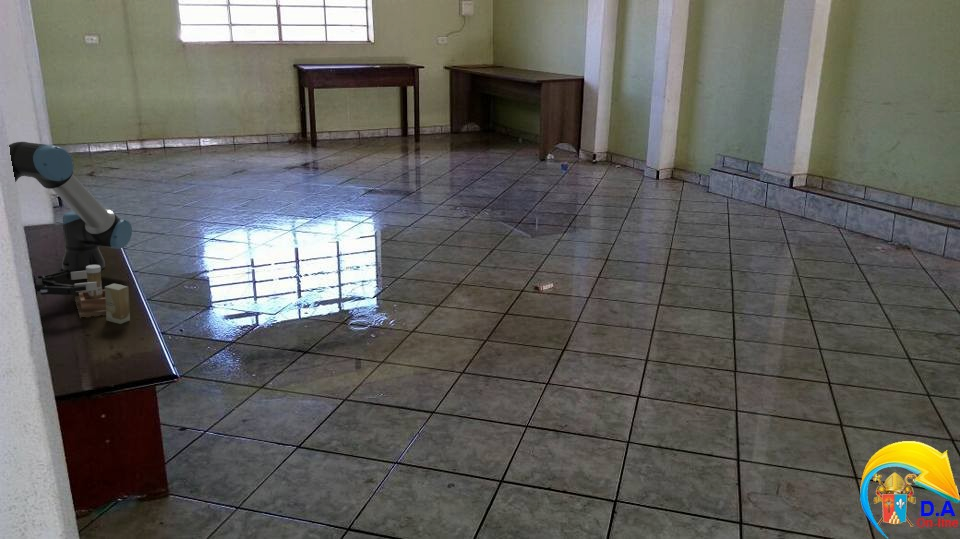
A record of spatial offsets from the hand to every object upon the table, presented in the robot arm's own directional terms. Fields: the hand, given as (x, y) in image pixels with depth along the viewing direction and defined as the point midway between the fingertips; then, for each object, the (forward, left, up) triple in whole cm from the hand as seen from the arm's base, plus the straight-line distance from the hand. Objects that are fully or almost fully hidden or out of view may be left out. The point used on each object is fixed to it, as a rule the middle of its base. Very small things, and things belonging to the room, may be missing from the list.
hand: (94, 279), depth 255 cm
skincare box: (+13, +10, -10) cm, 19 cm away
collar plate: (0, 0, -10) cm, 10 cm away
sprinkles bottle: (0, 0, -9) cm, 9 cm away
